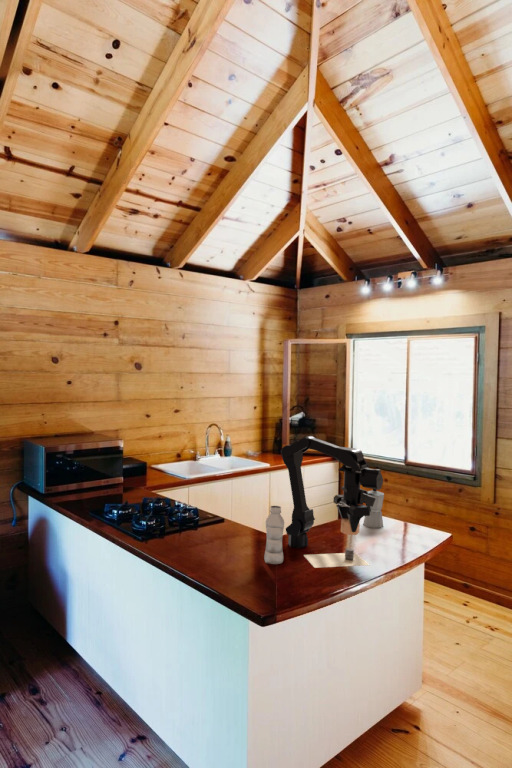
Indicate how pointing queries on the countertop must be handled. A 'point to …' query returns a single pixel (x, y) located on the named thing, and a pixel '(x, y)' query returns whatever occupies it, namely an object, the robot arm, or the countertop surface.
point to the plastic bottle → (274, 536)
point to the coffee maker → (375, 510)
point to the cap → (348, 527)
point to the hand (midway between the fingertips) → (350, 529)
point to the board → (336, 559)
